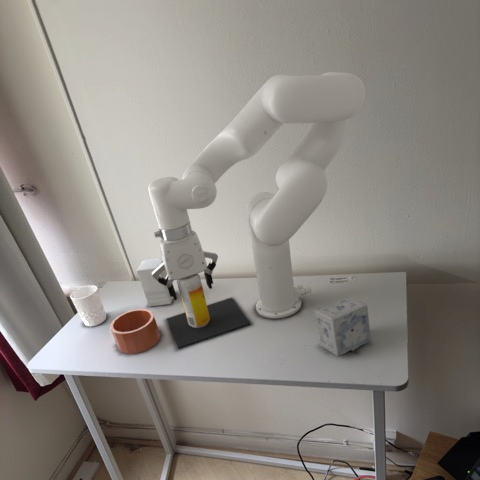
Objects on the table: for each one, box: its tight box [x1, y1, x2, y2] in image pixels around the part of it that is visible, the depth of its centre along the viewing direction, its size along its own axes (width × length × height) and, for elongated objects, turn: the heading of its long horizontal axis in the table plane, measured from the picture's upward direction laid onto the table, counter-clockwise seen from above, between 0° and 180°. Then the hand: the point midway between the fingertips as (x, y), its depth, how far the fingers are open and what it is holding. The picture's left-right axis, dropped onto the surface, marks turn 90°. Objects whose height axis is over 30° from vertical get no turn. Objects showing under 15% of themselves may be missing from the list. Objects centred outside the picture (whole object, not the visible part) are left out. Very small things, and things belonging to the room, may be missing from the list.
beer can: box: [176, 273, 210, 328], centre depth 112 cm, size 6×6×15 cm
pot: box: [109, 308, 161, 355], centre depth 113 cm, size 12×12×6 cm
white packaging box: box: [136, 257, 176, 307], centre depth 129 cm, size 7×7×13 cm
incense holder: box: [314, 296, 372, 357], centre depth 96 cm, size 10×8×10 cm
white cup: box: [69, 284, 107, 327], centre depth 125 cm, size 8×8×10 cm
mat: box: [166, 297, 251, 350], centre depth 116 cm, size 20×16×1 cm
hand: (192, 292), depth 111 cm, fingers open, 9 cm apart
